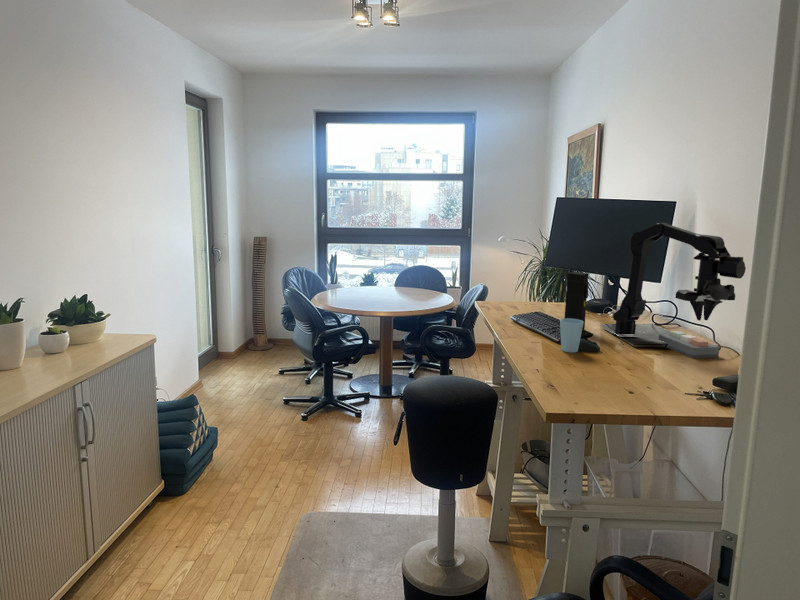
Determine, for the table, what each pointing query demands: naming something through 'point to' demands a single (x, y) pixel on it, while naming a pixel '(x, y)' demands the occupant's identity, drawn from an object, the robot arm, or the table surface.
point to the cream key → (687, 338)
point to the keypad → (689, 347)
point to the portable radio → (576, 296)
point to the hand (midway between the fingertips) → (702, 320)
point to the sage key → (676, 334)
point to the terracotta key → (699, 342)
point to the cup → (570, 334)
